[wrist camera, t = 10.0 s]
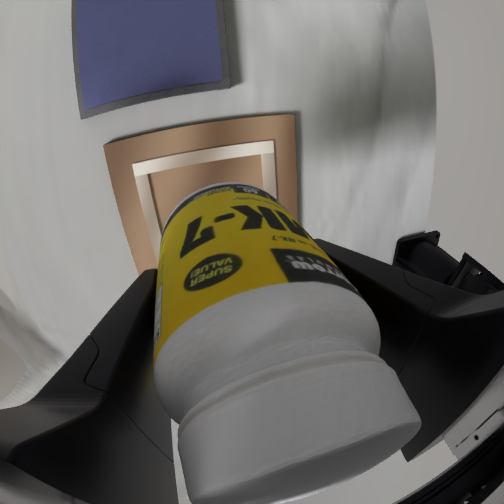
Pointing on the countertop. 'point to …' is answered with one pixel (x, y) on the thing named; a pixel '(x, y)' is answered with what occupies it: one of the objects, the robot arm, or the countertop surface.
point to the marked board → (197, 171)
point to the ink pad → (146, 51)
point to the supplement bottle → (267, 355)
